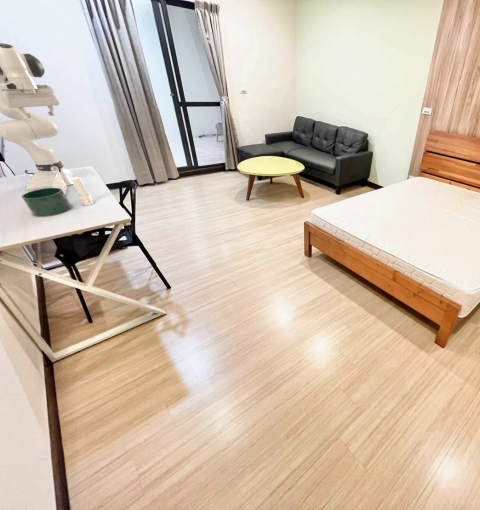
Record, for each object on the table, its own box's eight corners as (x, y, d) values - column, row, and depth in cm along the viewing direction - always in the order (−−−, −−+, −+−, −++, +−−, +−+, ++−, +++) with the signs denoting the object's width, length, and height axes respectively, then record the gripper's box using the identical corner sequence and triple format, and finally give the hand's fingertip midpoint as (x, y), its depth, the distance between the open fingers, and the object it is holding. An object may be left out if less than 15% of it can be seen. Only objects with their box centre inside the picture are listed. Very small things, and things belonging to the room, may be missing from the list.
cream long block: (45, 189, 169) (35, 172, 163) (67, 186, 174) (58, 170, 168) (37, 207, 148) (24, 189, 142) (62, 203, 153) (51, 185, 147)
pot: (28, 211, 144) (16, 194, 138) (64, 202, 155) (54, 185, 149) (40, 219, 138) (28, 201, 132) (76, 208, 149) (67, 191, 143)
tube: (88, 205, 153) (74, 179, 144) (82, 204, 153) (68, 179, 145) (95, 202, 156) (82, 177, 148) (89, 201, 157) (76, 176, 148)
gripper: (46, 84, 140) (61, 114, 147) (-8, 85, 124) (11, 118, 132) (53, 85, 138) (68, 115, 145) (-2, 85, 122) (18, 119, 130)
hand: (40, 116), depth 138 cm, fingers open, 8 cm apart
